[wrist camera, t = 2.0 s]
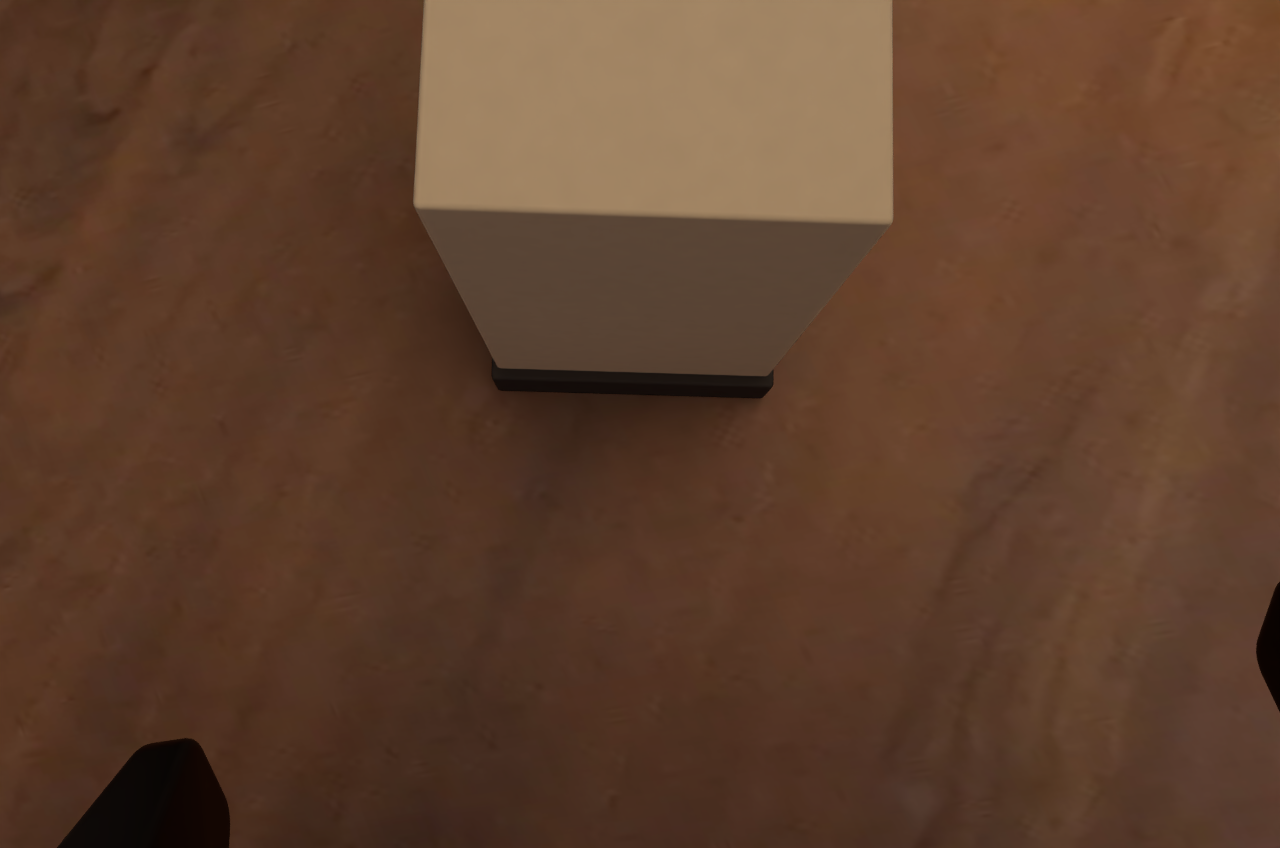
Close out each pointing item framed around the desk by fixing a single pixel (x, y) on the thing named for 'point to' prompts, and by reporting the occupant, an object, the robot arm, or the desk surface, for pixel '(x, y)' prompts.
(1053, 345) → the desk surface
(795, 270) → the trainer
